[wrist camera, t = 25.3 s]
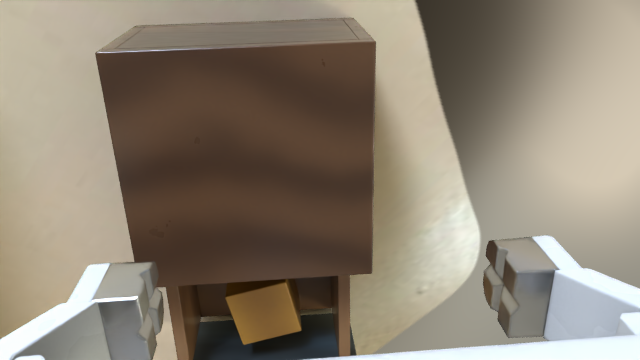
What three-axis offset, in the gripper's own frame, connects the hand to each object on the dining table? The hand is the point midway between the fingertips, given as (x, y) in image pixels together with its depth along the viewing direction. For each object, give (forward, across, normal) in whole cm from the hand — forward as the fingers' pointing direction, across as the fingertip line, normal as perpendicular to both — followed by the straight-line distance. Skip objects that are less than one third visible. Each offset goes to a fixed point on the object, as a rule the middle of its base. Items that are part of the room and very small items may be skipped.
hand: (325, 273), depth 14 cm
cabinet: (+27, +3, +5) cm, 28 cm away
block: (+25, +3, +17) cm, 30 cm away
